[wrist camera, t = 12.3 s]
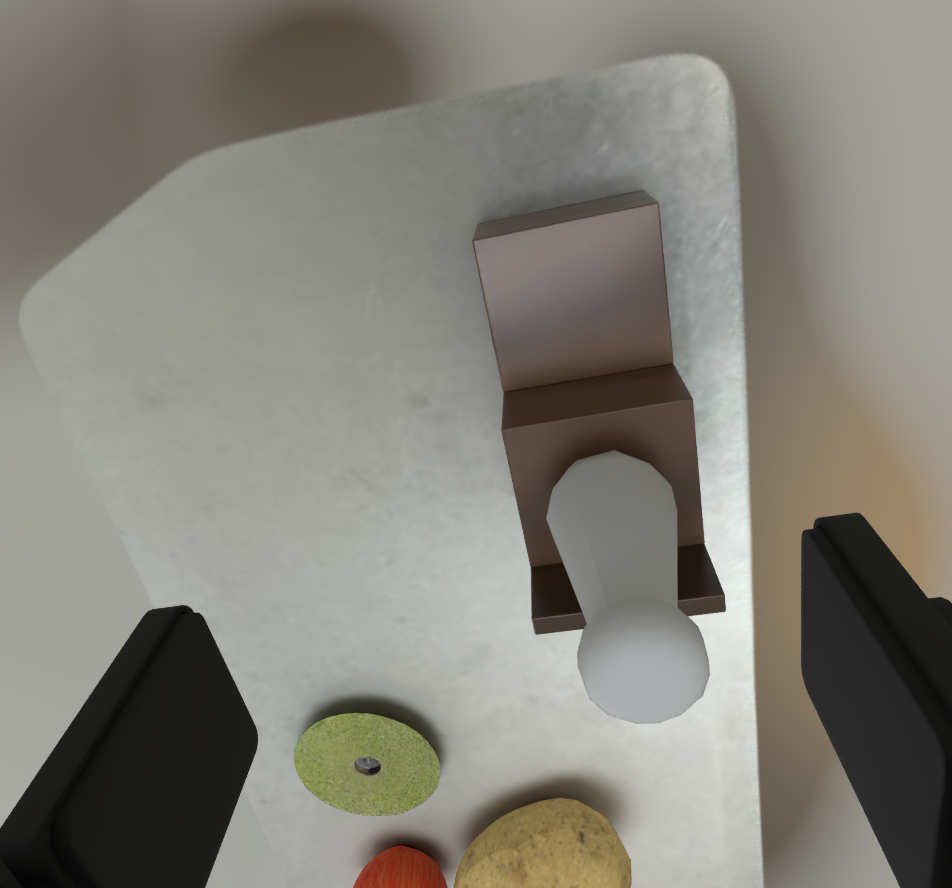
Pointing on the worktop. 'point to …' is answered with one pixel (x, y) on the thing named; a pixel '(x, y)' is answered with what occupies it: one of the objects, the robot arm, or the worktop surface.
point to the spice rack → (589, 376)
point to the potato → (547, 850)
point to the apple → (401, 870)
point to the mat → (367, 764)
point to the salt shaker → (627, 588)
